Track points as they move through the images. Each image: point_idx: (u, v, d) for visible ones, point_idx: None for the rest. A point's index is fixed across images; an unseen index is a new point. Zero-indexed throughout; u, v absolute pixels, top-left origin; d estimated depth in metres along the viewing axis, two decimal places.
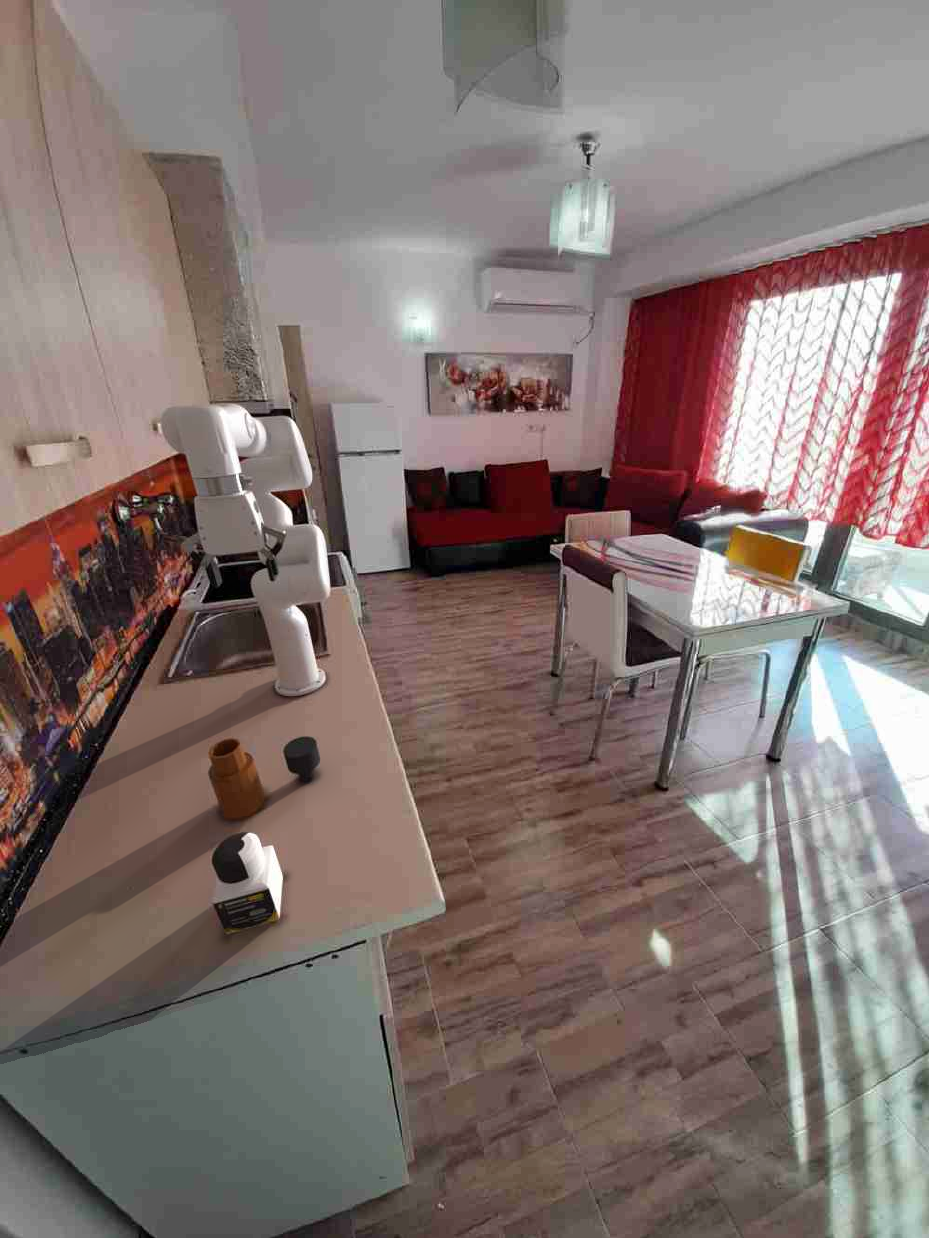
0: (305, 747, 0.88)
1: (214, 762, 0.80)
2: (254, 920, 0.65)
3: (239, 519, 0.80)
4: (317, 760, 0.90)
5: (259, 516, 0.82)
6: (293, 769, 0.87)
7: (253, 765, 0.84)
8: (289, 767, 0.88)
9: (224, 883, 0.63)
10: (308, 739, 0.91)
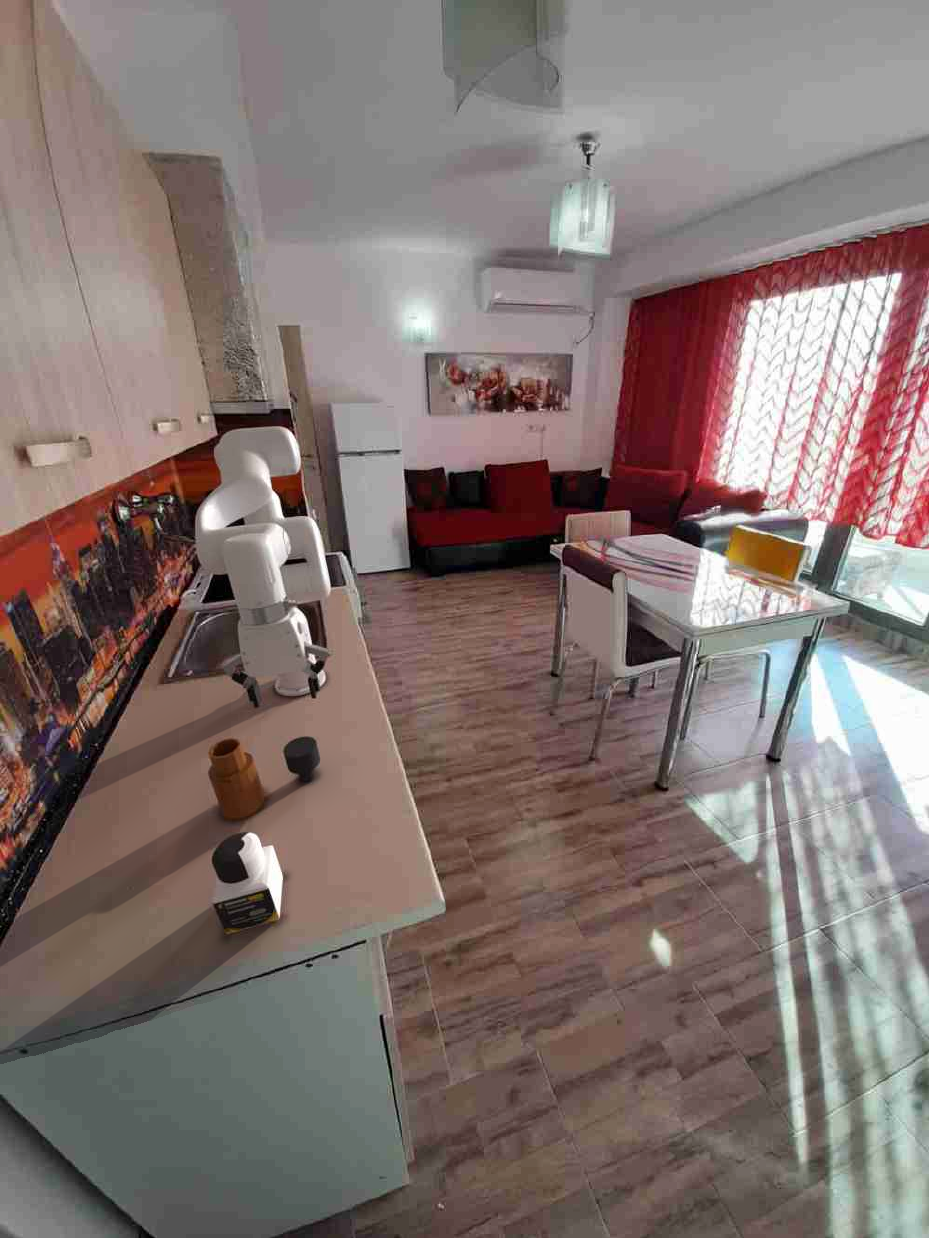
0: (305, 747, 0.88)
1: (214, 762, 0.80)
2: (254, 920, 0.65)
3: (283, 643, 0.78)
4: (317, 760, 0.90)
5: (302, 636, 0.80)
6: (293, 769, 0.87)
7: (253, 765, 0.84)
8: (289, 767, 0.88)
9: (224, 883, 0.63)
10: (308, 739, 0.91)
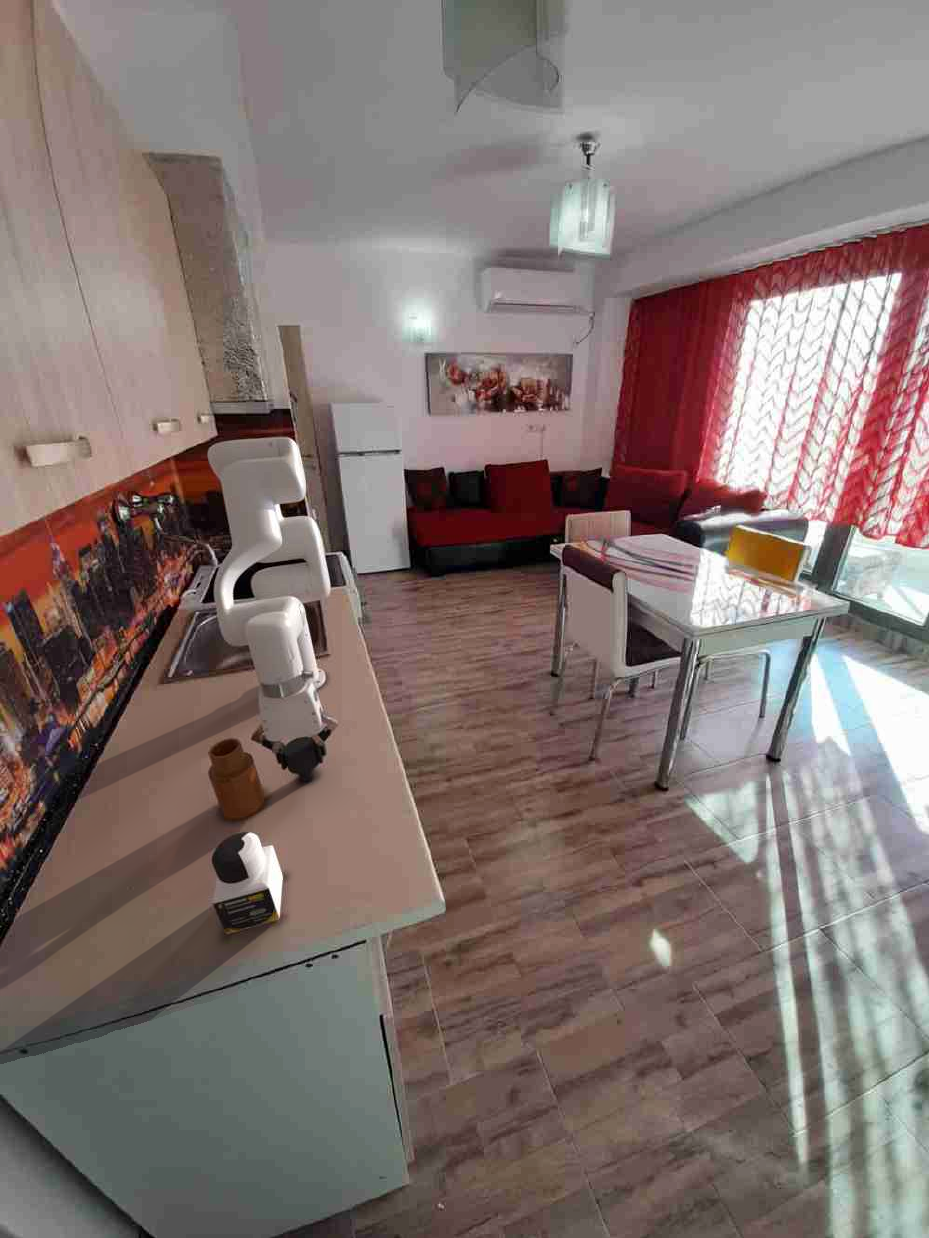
0: (305, 747, 0.88)
1: (214, 762, 0.80)
2: (254, 920, 0.65)
3: (301, 711, 0.83)
4: (317, 760, 0.90)
5: (318, 703, 0.86)
6: (293, 769, 0.87)
7: (253, 765, 0.84)
8: (289, 767, 0.88)
9: (224, 883, 0.63)
10: (308, 739, 0.91)
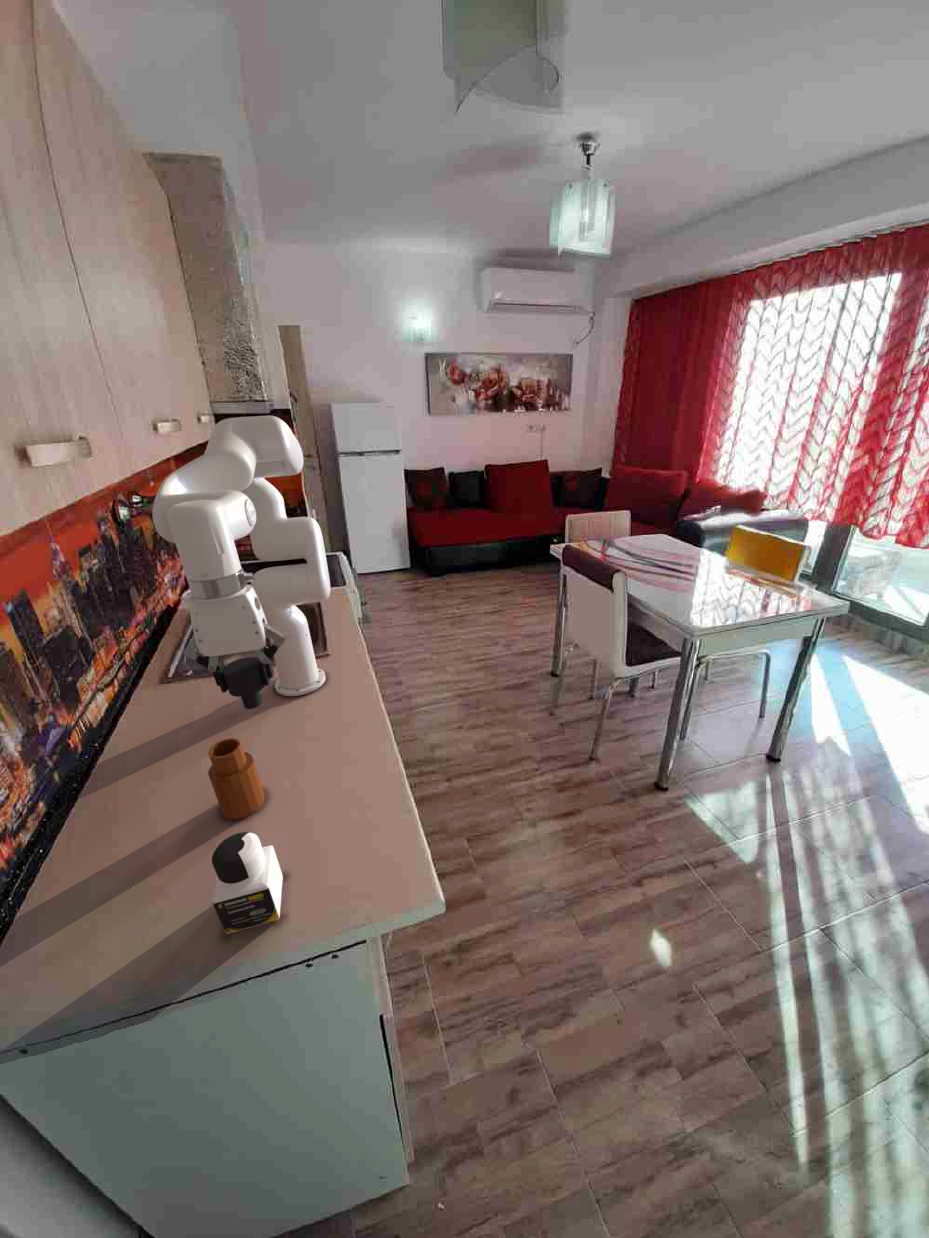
0: (248, 667, 0.77)
1: (214, 762, 0.80)
2: (254, 920, 0.65)
3: (239, 619, 0.72)
4: (263, 682, 0.79)
5: (260, 613, 0.75)
6: (234, 690, 0.76)
7: (253, 765, 0.84)
8: (229, 689, 0.77)
9: (224, 883, 0.63)
10: (252, 659, 0.80)
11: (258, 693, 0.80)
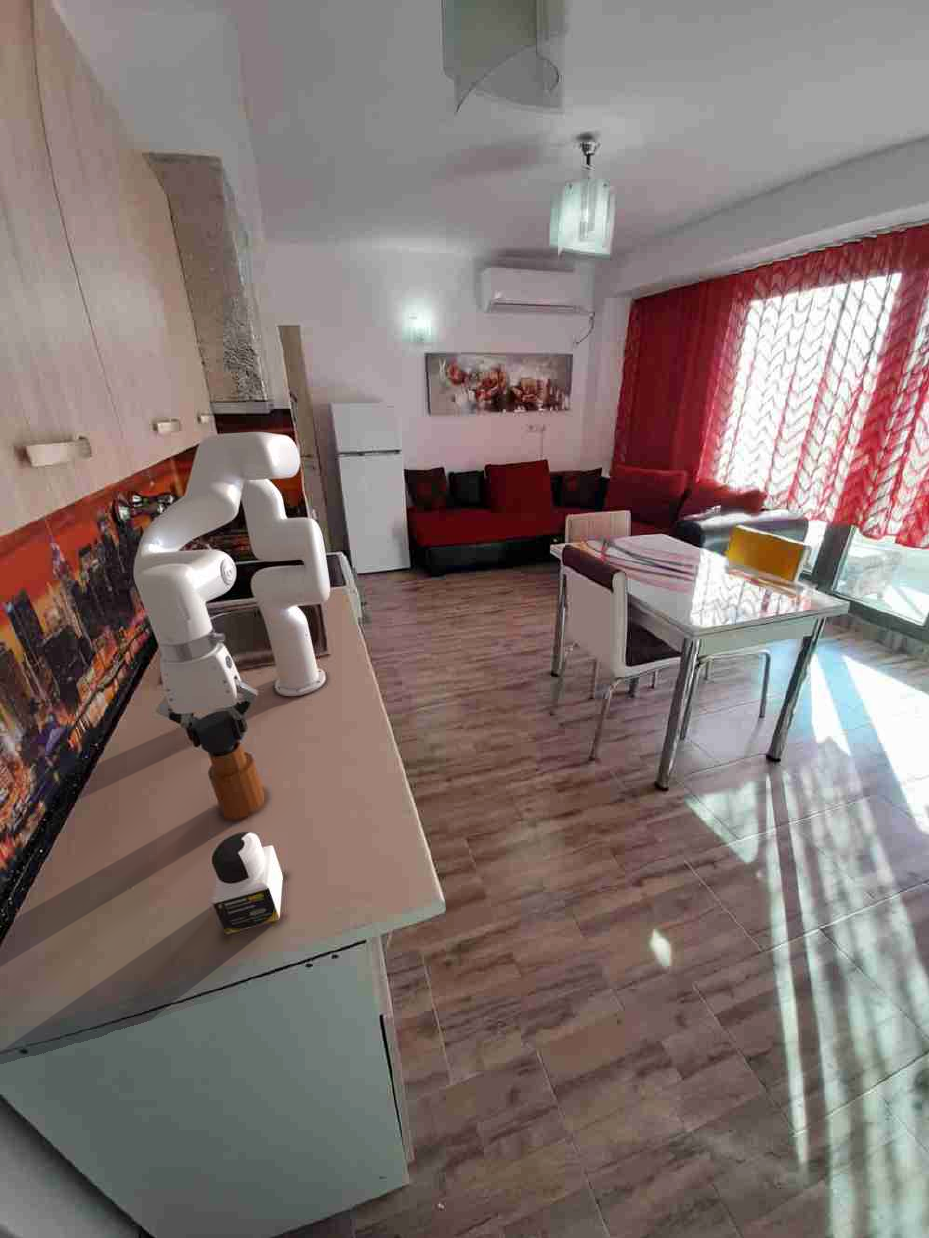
0: (221, 722, 0.78)
1: (214, 762, 0.80)
2: (254, 920, 0.65)
3: (210, 679, 0.73)
4: None
5: (232, 670, 0.76)
6: (206, 746, 0.77)
7: (253, 765, 0.84)
8: (202, 744, 0.78)
9: (224, 883, 0.63)
10: (226, 713, 0.80)
11: (231, 747, 0.81)
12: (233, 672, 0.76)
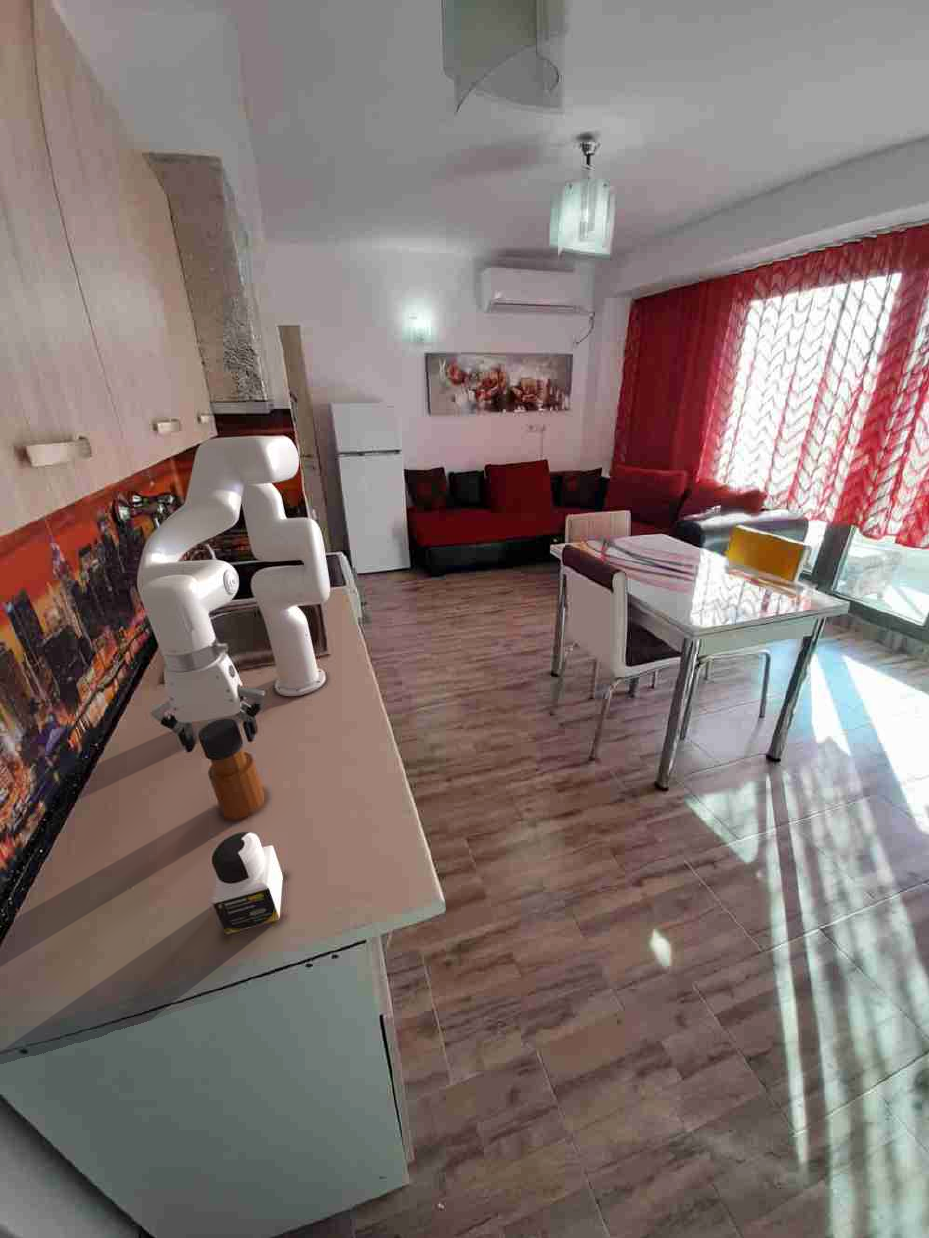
0: (224, 730, 0.79)
1: (214, 762, 0.80)
2: (254, 920, 0.65)
3: (213, 688, 0.74)
4: (238, 744, 0.80)
5: (235, 680, 0.76)
6: (209, 754, 0.78)
7: (253, 765, 0.84)
8: (205, 752, 0.78)
9: (224, 883, 0.63)
10: (229, 721, 0.81)
11: None
12: (236, 681, 0.77)
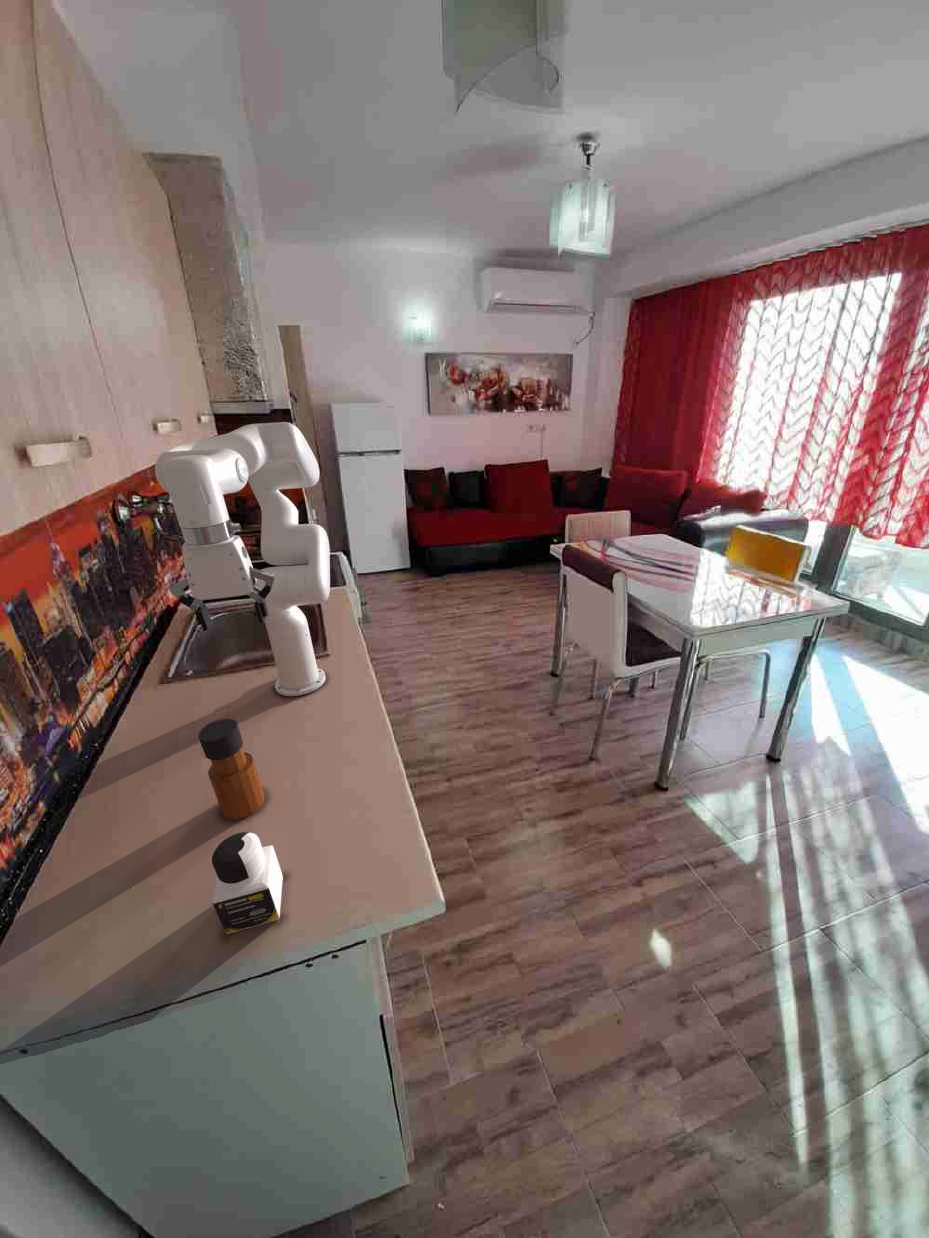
0: (224, 730, 0.79)
1: (214, 762, 0.80)
2: (254, 920, 0.65)
3: (228, 565, 0.80)
4: (238, 744, 0.80)
5: (247, 561, 0.83)
6: (209, 754, 0.78)
7: (253, 765, 0.84)
8: (205, 752, 0.78)
9: (224, 883, 0.63)
10: (229, 721, 0.81)
11: None
12: (248, 562, 0.83)
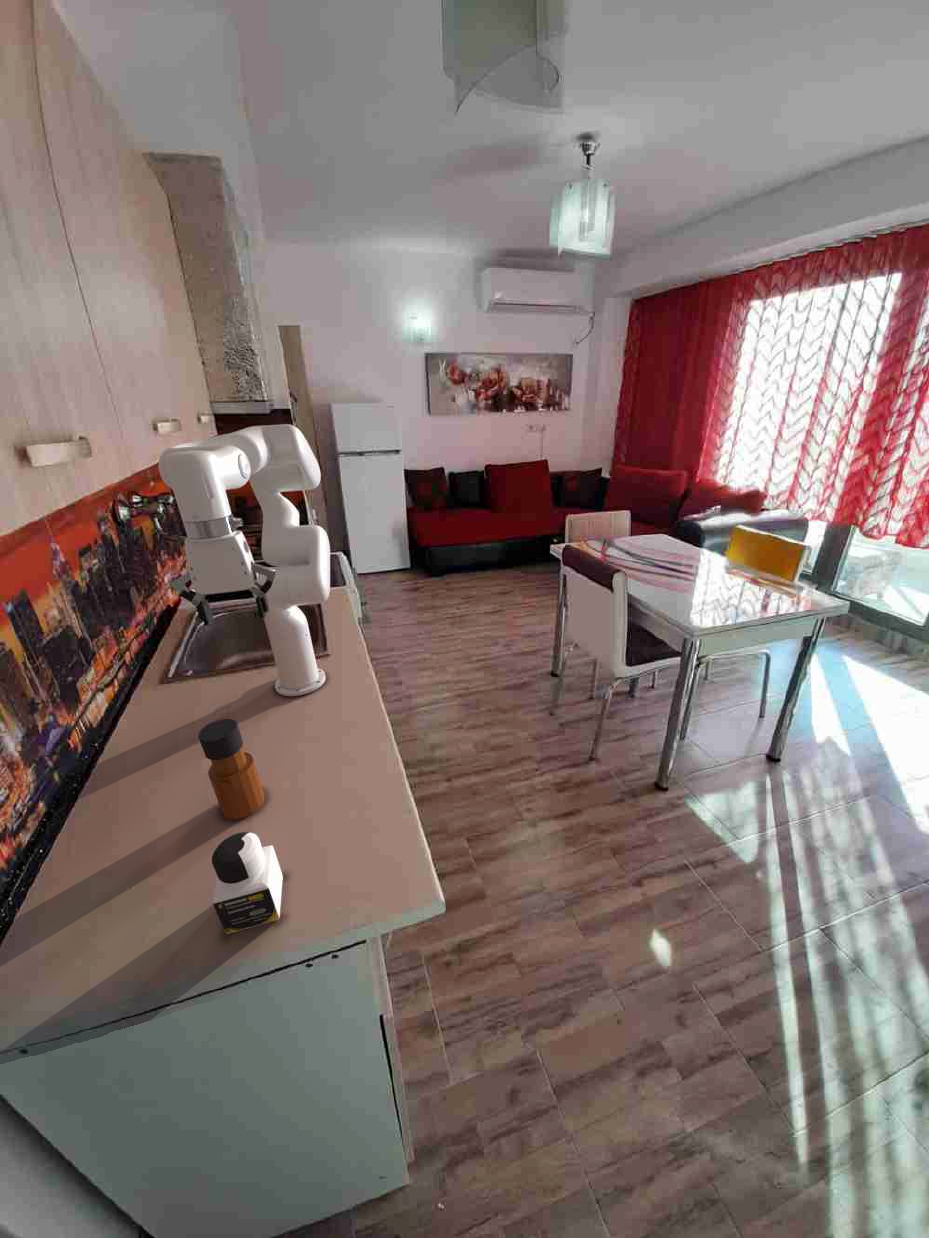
0: (224, 730, 0.79)
1: (214, 762, 0.80)
2: (254, 920, 0.65)
3: (229, 559, 0.81)
4: (238, 744, 0.80)
5: (249, 555, 0.83)
6: (209, 754, 0.78)
7: (253, 765, 0.84)
8: (205, 752, 0.78)
9: (224, 883, 0.63)
10: (229, 721, 0.81)
11: None
12: (250, 557, 0.84)
